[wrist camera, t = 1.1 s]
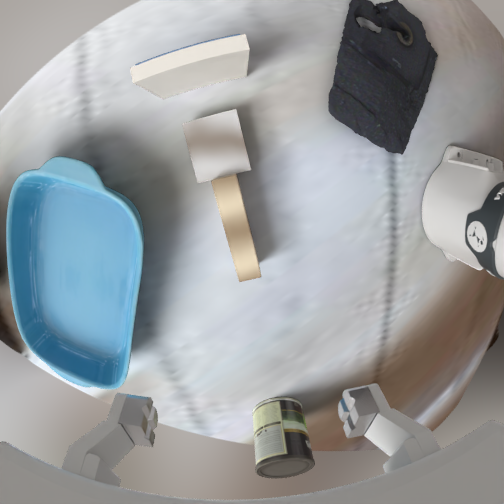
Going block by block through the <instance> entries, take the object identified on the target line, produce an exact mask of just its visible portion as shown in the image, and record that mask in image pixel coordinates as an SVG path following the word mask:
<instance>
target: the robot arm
mask: <svg viewBox="0 0 504 504" xmlns="http://www.w3.org/2000/svg"><path fill="white" fill-rule="evenodd" d="M457 153H458V156H457ZM422 221H423V226H424V230H425V233H426V235H427V237H428V238H429V240H430V241H431V242H432V243H433V244H434V245H435V246H437V247H439V248H440V249H442V250H443V252H444V254H445V256H446V258H447V259H448V260H450V261H455V260H457V259H458V260H460V261H462V262H464V263H466V264H468V265H470V266H471V267H473V268H475V269H477V270H482V269H483V268H484V269H485V270H487V272H489V273H490V274H491V275H493V276H496V277H497V278H499V279H504V171H503V163H502V161H500V160H499V159H497V158H494V157H491V156H488V155H485V154H481V153H478V152H475V151H471V150H467V149H464V148H460V147H456V146H452V145H450V146H448V147H447V149H446V151H445V154H444V157H443V160H442V162H441V164H440V165H439V166H438V168H437V169H436V170H435V171H434V173H433V174H432V176H431V177H430V179H429V181H428V183H427V186H426V189H425V192H424V196H423V202H422ZM342 395H343V399H342V400H340V402H339V405H338V412H339V417H340V419H341V420H342V421H343V422H345V424H344V426H343V428H344V431H345V434H346V436H347V438H351V437H356V436H361V435H364V436H366V437H367V438H368V439H369V440H370V441H372V442H373V443H374V444H375V445H376V446H378V447H379V448H380V449H381V450H383V451H384V452H385V453H386V454H388V455H389V456H390V458H389V459H388V460H387V461H386V463H385V464H384V465H383V468H384V471H385V474H382V475H379V476H376V477H373V478H370V479H366V480H363V481H360V482H356V483H353V484H349V485H345V486H341V487H337V488H332V489H328V490H323V491H318V492H312V493H307V494H300V495H295V496H286V497H277V498H266V499H251V500H206V499H191V498H180V497H172V496H164V495H157V494H151V493H145V492H140V491H135V490H130V489H125V488H121V487H120V482H121V479H120V478H119V476H117V475H116V474H115V473H114V472H113V471H112V469H113V468H114V467H115V466H116V465H117V464H118V463H119V462H120V461H121V460H122V459H123V458H124V457H125V455H127V454H128V453H129V452H130V450H132V448H133V447H134V446H135V445H139V446H147V447H153V444H154V439H155V434H154V432H153V430H154V429H155V428H156V427H157V422H158V415H157V411H156V408H155V407H153V406H152V404H153V401H152V399H151V397H143V396H136V395H129V394H122V393H117V394H116V395H115V398H114V401H113V404H112V406H111V409H110V412H109V415H108V418H107V421H102V422H101V423H100V424H98V425H97V426H96V427H95V428H93V429H92V430H91V431H89V432H88V433H87V434H85V435H84V436H83V437H81V438H80V439H78V440H77V441H76V442H74V443H73V444H72V445H70V446H69V449H68V451H67V454H66V457H65V460H64V463H63V466H62V469H61V468H59V467H56V466H54V465H52V464H49V463H47V462H45V461H42V460H40V459H38V458H36V457H34V456H32V455H30V454H28V453H26V452H24V451H22V450H20V449H18V448H17V447H14V446H13V445H11V444H9V443H7V442H0V504H504V424H503V423H501V422H499V421H495V420H490V421H488V422H486V423H485V424H483V425H482V426H480V427H479V428H477V429H476V430H474V431H473V432H471V433H469V434H468V435H466V436H464V437H463V438H461V439H459V440H458V441H456V442H454V443H452V444H450V445H449V446H447V447H445V448H443V449H441V448H440V446H439V445H438V443H437V441H436V439H435V437H434V435H433V434H432V432H431V430H430V429H428V428H427V427H425V426H423V425H421V424H420V423H418V422H416V421H414V420H413V419H411V418H409V417H407V416H406V415H404V414H402V413H401V412H399V411H397V410H395V409H394V408H393V409H391V408H390V406H389V404H388V403H387V401H386V399H385V397H384V395H383V393H382V391H381V389H380V388H379V386H378V384H371V385H366V386H360V387H356V388H351V389H346V390H344V392H343V394H342Z"/></svg>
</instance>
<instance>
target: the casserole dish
mask: <svg viewBox="0 0 504 504" xmlns="http://www.w3.org/2000/svg"><path fill="white" fill-rule="evenodd" d="M6 245H7V263H8V274H9V283H10V291H11V297H12V303H13V309H14V314H15V318H16V322H17V325H18V328H19V331H20V334H21V336H22V338H23V340H24V342H25V343H26V345H27V346H28V347H29V349H30V350H31V351H32V352H33V353H34V354H35V355H36V356H37V357H39V358H40V359H41V360H42V361H44V362H45V363H46V364H47V365H48V366H49V367H50V368H51V369H53V370H54V371H55V372H56V373H57V374H58V375H60V376H61V377H63V378H64V379H66V380H68V381H70V382H72V383H74V384H77V385H80V386H83V387H98V388H102V389H116V388H119V387H120V386H121V385H122V384H123V383H124V382H125V380H126V377H127V374H128V369H129V363H130V356H131V347H132V338H133V330H134V322H135V315H136V309H137V303H138V296H139V289H140V283H141V277H142V267H143V252H144V233H143V225H142V221H141V217H140V214H139V212H138V210H137V208H136V207H135V205H134V204H133V203H132V202H131V201H130V200H129V199H128V198H127V197H125V196H124V195H122V194H121V193H119V192H117V191H115V190H112V189H110V188H108V187H105V185H104V184H103V182H102V180H101V178H100V176H99V174H98V173H97V172H96V170H95V169H94V168H93V167H92V166H91V165H89V164H87V163H85V162H83V161H80V160H77V159H73V158H69V157H63V156H58V157H54V158H51V159H50V160H48V161H47V162H46V163H45V164H44V165H43V166H42V167H41V168H39V169H33V170H28V171H25V172H23V173H22V174H21V175H20V176H19V177H18V178H17V180H16V181H15V183H14V185H13V187H12V190H11V193H10V197H9V202H8V210H7V225H6Z"/></svg>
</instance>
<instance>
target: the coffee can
mask: <svg viewBox="0 0 504 504" xmlns="http://www.w3.org/2000/svg"><path fill="white" fill-rule="evenodd" d="M252 414H253V424H254V441H255V457H256V469H255V470H256V473H257V474H258V475H259V476H262V477H267V478H287V477H291V476H296V475H299V474H302V473H305V472H307V471H309V470H310V469H312V468H313V467H314V465H315V462H314V459H313V456H312V451H311V446H310V441H309V437H308V432H307V427H306V423H305V418H304V414H303V407H302V404H301V403H300V402H299V401H298V400H296V399H293V398H288V397H277V398H271V399H268V400H265V401H263V402H261V403H259V404H258V405H257V406H255V408H254V409H253V412H252Z"/></svg>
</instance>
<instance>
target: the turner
mask: <svg viewBox="0 0 504 504" xmlns="http://www.w3.org/2000/svg"><path fill="white" fill-rule="evenodd" d="M182 126H183V130H184V134H185V138H186V142H187V145H188V149H189V153H190V157H191V160H192V164H193V168H194V171H195V175H196V179H197V182H198V183H202V182H206V181H209V180H212V181H211V182H212V186H213V190H214V193H215V197H216V201H217V204H218V208H219V212H220V215H221V219H222V222H223V226H224V230H225V233H226V237H227V240H228V244H229V247H230V251H231V254H232V258H233V261H234V265H235V268H236V272H237V275H238V279H239V282H242V281H246V280H251V279H255V278H259V277H261V273H260V267H259V261H258V257H257V253H256V249H255V245H254V241H253V237H252V233H251V229H250V225H249V221H248V217H247V213H246V209H245V205H244V201H243V197H242V193H241V189H240V185H239V181H238V177H237V173H240V172H245V171H249V170H251V167H250V163H249V159H248V155H247V151H246V147H245V143H244V139H243V135H242V131H241V127H240V123H239V119H238V115H237V111H236V109H234V110H230V111H226V112H222V113H218V114H214V115H210V116H206V117H203V118H199V119H196V120H193V121H189V122H186V123H183V124H182Z"/></svg>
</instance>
